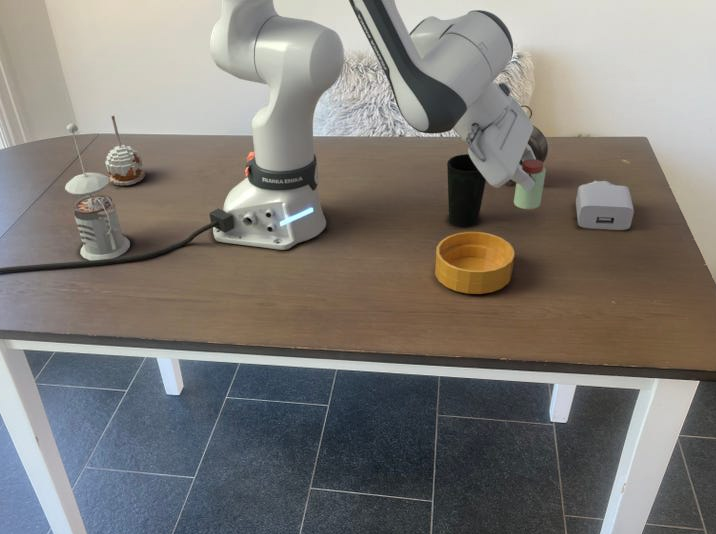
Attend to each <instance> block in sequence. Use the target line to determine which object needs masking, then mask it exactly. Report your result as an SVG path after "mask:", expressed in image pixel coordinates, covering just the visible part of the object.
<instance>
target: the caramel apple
mask: <svg viewBox="0 0 716 534" xmlns="http://www.w3.org/2000/svg"><path fill="white" fill-rule="evenodd" d="M110 116H111V121H112V126H113V129H114V133H115V137H116V142H117V146H114V147H113V149H110V150H109V152H108V153H107V155H106V160H105V161H104V163H105V166H106V170H107V173H108V175H110V176H109V177H108V178H109V182H110V183H111V184H114V185H117V186H130V185H134V184H135V185H136V184H137V183H139V182H141V181H142V180H143V179H144V177H145V176H146V173H145V172H144V170H143V167H142V166H144V165H143V160H142V157H141V155H140V154H138V151H137V150H134V148H133V147H131V146H130V145H128V146H126V145H125V144H122V142H121V139H120V135H119V131H118V126H117V122H116V117H115V114H112V115H110Z"/></svg>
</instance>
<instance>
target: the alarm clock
mask: <svg viewBox="0 0 716 534" xmlns="http://www.w3.org/2000/svg"><path fill="white" fill-rule="evenodd" d="M520 106H521V107H522V108H527V109H528V110H529V116H528V117H529V119H530V120H531V118H532V116H533V110H532V108H531V107H530V106H529V105H526V104H520ZM527 144H528V145H529V146H530V147H531V149H532V151H533V153H534V156H535V159H536V160H540V161H542V162H543V163H545V161H546V159H547V156H548V152H549V147H548V145H549V144H548V141H547V139H546V137H545V134H544V133H543V132H542V131H541V130H540V129H539V128H538V127H537V126H535V125H533V131H532V133H531V136H530V138H529V141H528V143H527ZM519 164H520V165H522V164H523V162H522V160H520V162H519ZM507 184H508V185H509V186H511V185H512V184H513V180H511V179H510V180H509V181H507Z"/></svg>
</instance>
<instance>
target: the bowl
mask: <svg viewBox="0 0 716 534" xmlns="http://www.w3.org/2000/svg"><path fill="white" fill-rule="evenodd" d="M435 249H436V251H435V264H434V265H435V266H434V272H435V273H434V275H435V278H436V279H437V280H438V282H439V283H441V284H442V285H443V286H444V287H446V288H447V289H450V290H453V291H455V292H457V293H464V294H472V295H477V294H478V295H481V294H489V293H494V292H496V291H500V290H501V289H503V288H505V287H506V286H507V285H508V284H509V283H510V281H511V279H512V276H513V269H514V262H515V255H516V254H515V248H514V247H513V245H511V243H510V242H509V241H507V240H506V239H504V238H503V237H501V236H498V235H496V234H492V233H488V232H483V231H463V232H457V233H454V234H451V235H447V236H446V237H445V238H443V239H442V240H440V241H439V243H438V244H437V246H436V248H435Z"/></svg>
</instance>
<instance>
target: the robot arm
mask: <svg viewBox="0 0 716 534" xmlns="http://www.w3.org/2000/svg"><path fill="white" fill-rule="evenodd" d="M348 2H349V5H350V7H351V9H352V10H353V13H354V15H355V17H356V19H357V21H358V23H359V25H360V27H361V29H362V31H363V33H364V35H365V37H366V39H367V40H368V43H369V45H370V47H371V49H372V51H373V53H374V55H375V57H376V59H377V61H378V63H379V64H380V67H381V68H382V71H383V73H384V75H385V77H386V80H387V81H388V83H389V85H390V89H391V92H392V94H393V97H394V100H395V103H396V106H397V109H398V111H399V113H400V115H401V116H402V118H403V119H404V121H405V122H406V123H407V124H408V125H409V126H410V127H411V128H412V129H414V130H415V131H416V132H418V133H422V134H442V133H447V132H451V131H454V132H455V133H456V134H457V136H458V137H459V138H460V139H461V141H463V142H467V144H468V146H467V148H468V149H467V153H468V154H469V156H470V158H471V160H472V162H473V163H474V164H475V166H476V167H477V169H478V170H479V171H480V173H481V174H482V175H483V177H484V178H485V179H486V183H488V184H489V186H491V187H493V188H494V189H499V188H500V187H502V186H503V185H505V184H506V183H508V182H509V180H510V179H511V180H512V182H514V183H518V184H520V185H521V187H522V188H523V189H524V190H525V191H528V190H530V189H531V188H533V187H534V185H535V182H536V181H535V179H534V178H533V176H532V175H531V174H527V173H526V172H524V171H523V170H522V166H521V165H520V164H519V162H520V160H522V162H524V161H525V160H528V159H535V156H534V153H533V151H532V149H531V147H530V146H529V145H528V144H527V143H528V141H529V138H530V136H531V133H532V131H533V126H534V125H533V122H532V121H531V118H530V119H529V117H530V116H528V114H527V113H526V111H525V110H524V108H523V107H521V104H520V103H519V102H518V101H517V100H516V98H515V97H514V96H512V95H511V94H512V89H511V87H510V86H509V85H508V83H506V82H505V81H501V82H494V81H495V80H496V79H497V78H498V76H500V75H501V73H502V72H503V71H504V70H505V69H506V68H507V66H508V65H509V63H510V61H511V60H512V58H513V55H514V42H513V38H512V34H511V32H510V30H509V28H508V27H507V25H506V24H505V23H504V21H503V20H502V19H501V18H500V17H499V16H497V15H496V14H494V13H492V12H490V11H487V10H480V9H475V10H470V11H469V12H467V13H466V14H464V15H461V16H458V17H454V18H450V19H440V18H438V17H437V16H434V15H431V16H428V17H426V18H424V19H422V20H421V21H420V22H418V24H417V25H415V27H413V29H412V30H411V31H410V32H409V31H408V28H407V26H406V25H405V23H404V21H403V18H402V17H401V14H400V12H399V10H398V7H397V5H396V1H395V0H348ZM209 48H210V54H211V58H212V60H213V62H214V64H215V65H216V67H217V68H218V69H219V70H222V71H223V72H225V73H226V74H228V75H231V76H234V77H235V78H236V79H239V80H243V81H247V82H253V83H257V84H262V85H267V86H268V88H269V93H270V94H269V102H268V104H266V105H264V106H263V107H261V108H260V109H259V110H258V111H257V112H256V114H255V115H254V117H253V119H252V121H251V134H252V142H253V151H250V152H249V154H248V156H247V158H246V164H245V170H244V172H245V178H244V179H242V180H241V181H240V182H239V183H237V185H235V186H234V187H233V188H232V189H231V190H230V191H229V192H228V194H227V196H226V198H225V200H224V203H223V208H222V209H221V208H216V209H214V210H213V211H211V212H209V219H210V220H209V221H210V223H209V224H206V225H204V226H202V227H201V228H198V229H197V230H195V231H194V232H193V233H191V234H190V235H189V236H188V237H187V238H185V239H183V240H182V241H180V242H178V243H176V244H173V245H170V246H168V247H165V248H162V249H157V250H155V251H151V252H147V253H143V254H137V255H136V254H135V255H129V256H121V257H120V256H118V257H115V258H110V259H101V260H80V261H68V262H67V261H66V262H56V263H55V262H52V263H39V264H28V265H16V266H6V267H0V274H1V273H10V272H21V271H33V270H34V271H35V270H45V269H59V268H72V267H73V268H74V267H84V266H97V265H105V264H106V265H107V264H115V263H123V262H133V261H139V260H144V259H149V258H152V257H157V256H160V255H164V254H167V253H171V252H173V251H175V250H177V249H179V248H182V247H184V246H186V245H187V244H189V243H191V242H192V241H193V240H194V239H195V238H196V237H197V236H199V235H201V234H203V233H204V232H206V231H209V230H210V229H212V230H213V231H212V233H213V237H214V239H215V241H216V242H218V243H224V244H232V245H240V246H248V247H255V248H264V249H271V250H280V251H286V250H289V249H291V248H292V247H294V246H295V245H297V244H299V243H302V242H303V243H304V242H305V241H308V240H311V239H313V238H316V237H317V236H319V235H320V234H321V233H322V232H323V231H324V230H325V228H326V226H327V220H326V217H325V214H324V212H323V207H322V205H321V201H320V196H319V191H318V184H319V166H318V162H317V155H316V154H315V152H314V151H315V149H314V117H315V111H316V108H317V105H318V102H320V101H319V100H320V99H321V97H322V96H323V95H324V94H325V93H326V91H328V90H329V89H331V88H332V87H333V86H334V85H335V84H336V83H337V81H338V80H339V78H340V77H341V75H342V72H343V68H344V64H345V49H344V45H343V41H342V40H341V36H340V35H339V34H338V32H336V31H335V30H334V29H331V28H329V27H327V26H325V25H323V24H320V23H318V22H316V21H313V20H308V19H302V18H294V17H287V16H282V15H279V14H278V12H277V10H276V9H275V3H274V0H221V14H220V17H219V19H218V20H217V21H216V22H215V24H214V26H213V28H212V30H211V34H210V39H209Z"/></svg>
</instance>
